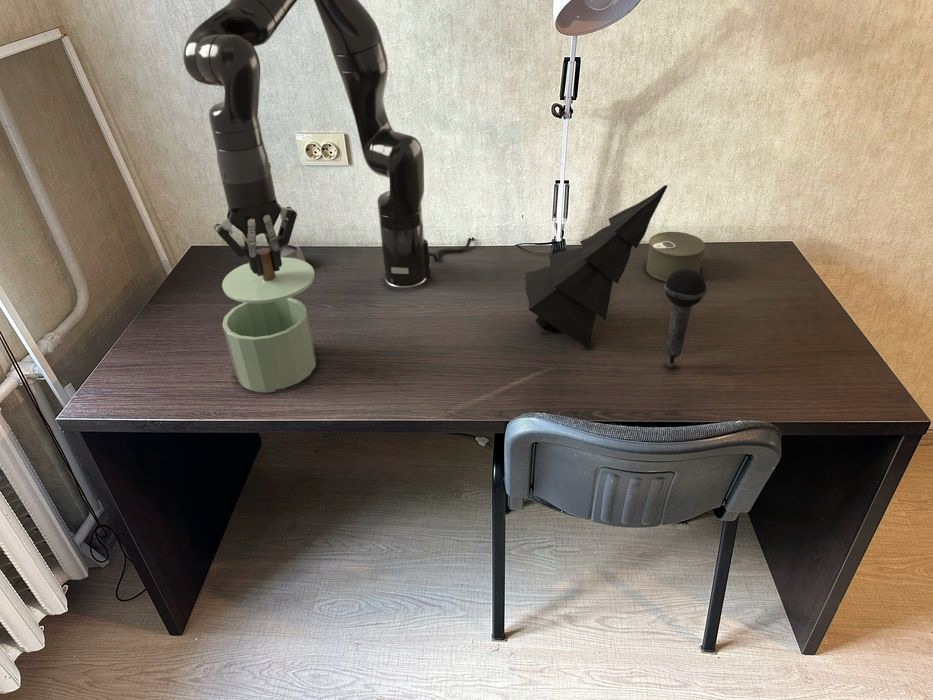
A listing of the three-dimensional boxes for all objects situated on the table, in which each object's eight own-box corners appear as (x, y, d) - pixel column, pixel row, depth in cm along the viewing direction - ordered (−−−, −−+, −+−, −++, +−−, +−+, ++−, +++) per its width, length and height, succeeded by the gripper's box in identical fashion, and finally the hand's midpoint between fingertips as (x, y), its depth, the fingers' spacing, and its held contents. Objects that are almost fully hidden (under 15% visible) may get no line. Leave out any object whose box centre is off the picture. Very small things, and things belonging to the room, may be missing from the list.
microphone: (683, 383, 118) (703, 284, 107) (645, 371, 121) (661, 274, 110) (694, 363, 123) (715, 266, 112) (658, 353, 126) (674, 257, 115)
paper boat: (321, 263, 157) (292, 269, 150) (310, 281, 161) (281, 288, 154) (292, 226, 160) (261, 230, 152) (281, 245, 163) (251, 250, 156)
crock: (299, 338, 133) (289, 288, 127) (328, 374, 123) (318, 321, 117) (227, 362, 127) (213, 311, 121) (251, 402, 117) (236, 348, 111)
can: (710, 279, 149) (716, 251, 145) (660, 286, 147) (664, 258, 143) (683, 255, 158) (688, 228, 154) (636, 262, 156) (640, 235, 152)
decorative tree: (576, 363, 130) (709, 225, 113) (514, 326, 125) (643, 177, 108) (568, 322, 142) (687, 192, 125) (511, 287, 137) (627, 147, 120)
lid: (296, 255, 124) (290, 224, 121) (329, 289, 113) (324, 256, 110) (212, 278, 117) (204, 246, 114) (239, 316, 107) (230, 282, 103)
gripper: (280, 157, 110) (298, 253, 120) (194, 175, 104) (220, 274, 114) (297, 170, 105) (314, 269, 114) (207, 189, 99) (233, 292, 108)
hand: (267, 271), depth 114 cm, fingers closed on lid, 2 cm apart
